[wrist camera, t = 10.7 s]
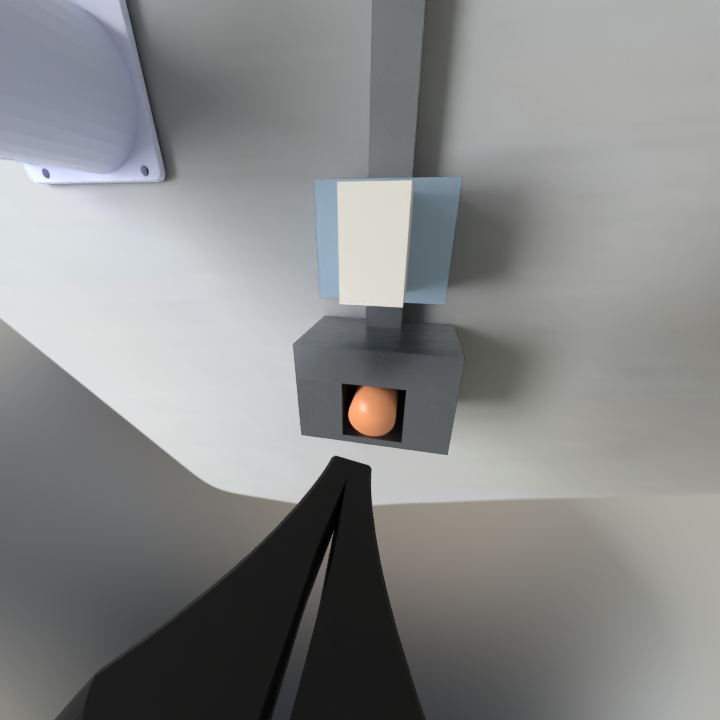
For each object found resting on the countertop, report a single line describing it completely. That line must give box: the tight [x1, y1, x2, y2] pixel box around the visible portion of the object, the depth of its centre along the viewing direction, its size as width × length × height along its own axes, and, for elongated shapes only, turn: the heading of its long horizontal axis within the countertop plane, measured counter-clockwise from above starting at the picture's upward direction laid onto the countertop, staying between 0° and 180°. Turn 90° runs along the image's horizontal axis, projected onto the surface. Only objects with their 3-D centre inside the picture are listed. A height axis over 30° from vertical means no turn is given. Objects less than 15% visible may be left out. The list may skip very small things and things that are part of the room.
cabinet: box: [293, 316, 465, 455], centre depth 17 cm, size 8×6×5 cm
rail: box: [366, 0, 426, 329], centre depth 13 cm, size 2×18×2 cm, turn 179°
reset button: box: [348, 385, 399, 436], centre depth 16 cm, size 2×2×4 cm
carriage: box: [314, 177, 462, 308], centre depth 13 cm, size 6×5×6 cm
